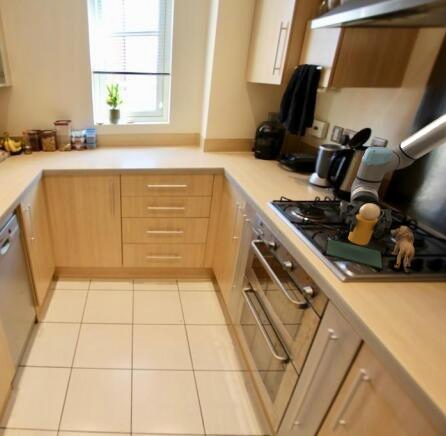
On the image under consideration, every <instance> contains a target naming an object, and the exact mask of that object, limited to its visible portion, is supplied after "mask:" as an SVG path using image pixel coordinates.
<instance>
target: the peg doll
mask: <svg viewBox="0 0 446 436" xmlns="http://www.w3.org/2000/svg"><path fill="white" fill-rule="evenodd" d="M359 213H360V214H357V216H356V225H355V228H354V231H353V232H350V231H349V234H348V237H347V239H348V241H349V242H351V243H353V244H355V245H358V246H359V245H360V246H365V245H366V246H367V245H368V244H369V243H370V241H371V238H372V235H373V233H374V229H375V226H376V224H377V221H378V219H377V217H378V216H379V214H380V215H381V213H380V209H379V207H378V206H377V205H375V204H371V203H369V204H365V205H363V206H362V207H361V208H360V210H359Z"/></svg>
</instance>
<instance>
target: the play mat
mask: <svg viewBox="0 0 446 436" xmlns="http://www.w3.org/2000/svg"><path fill="white" fill-rule="evenodd" d="M381 253H382V251H380V250H377V249H372V248H368V247H364V246H361V245H360V246H359V245H357V244H351V243H348V242H343V241H338V240H334V239H328V241H327V248H326V253H325V254H326V256H330V257H333V258H338V259H341V260H346V261H350V262H353V263H357V264H361V265H365V266H369V267H372V268H377V269H380V270H382V269H383V263H382V254H381Z"/></svg>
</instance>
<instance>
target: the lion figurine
mask: <svg viewBox="0 0 446 436" xmlns="http://www.w3.org/2000/svg"><path fill="white" fill-rule="evenodd" d="M390 233H391V236H392V237H395V238H394V239H395V246H394V249H393V251H392V252H391V254H392V255H394V256H397V257H396V264H395V265H393V266H394V268H395V269H400V266H401V263H402V262H401V260H402V259H403V263H402V264H403V270H404V272H405V273H409V270H408V268H407V267H409V268H410V267H411V261H412V260H413V258H414V256H415V247H414V243H415V238H414V234H413V232H412V230H411V229H410V228H409V227H408V226H405V225H400V227H398V228H396V229H391V230H390ZM403 257H404V258H403ZM397 264H398V265H397Z"/></svg>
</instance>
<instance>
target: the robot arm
mask: <svg viewBox="0 0 446 436" xmlns="http://www.w3.org/2000/svg"><path fill="white" fill-rule="evenodd" d="M445 143H446V113H444V114H443V115H441V116H440V117H438V118H436V119H435V120H433V121H432V122H430V123H429V124H427V125H426V126H424V127H423V128H421V129H419V130H418V131H416V132H415V133H413V134H411V135H410V136H408V137H407V138H406V139H404V140H403V141H401V142H400V143H398V144H397V145H395V146H394V147H392V148H388V147H385V146H369V147H367V148H366V149H365V150H364V151H365V152H364V154H363V155H362V157H361V161H360V164H359V167H358V169H357V174H356V176H355V179H354V181H353V183H352V184H351V187H350V202H348V201H346V200H345V199H344V200H341V201H340V204H339V206H338V207H339V209H340V212H339V219H340V220H345V224H346V225H349V233H350V232H353V231H354V228H355V225H356V216H357V214H360V213H359V210H360V208H361V207H362V206H363V205H365V204H369V203H371V204H375V205H377V206H378V207H379V209H380V214H379V216H378V217H377V219H378V221H377V224H376V226H375V229H374V231H373V233H374V235H373V236H374V238H377V239H378V238H379V236H380V234H381V232H384V230H385V229H387V230H389V229H390V228H391V225H392V223H393V218H392V214H391V213H392V209H391V208H386V209H382V207H381V206H380V201H379V189H380V186H381V184H382V182H383V179H384V177H385V174H386V173H390V172H393V171H396V170H401V169H402V170H403V169H405V168H407V167H409V166H410V165H412V164H413V163H414V161H416V160H417V159H420V158H421V157H423V156H425V155H426V154H428V153H430V152H432V151H433V150H435V149H436V148H438V147H441V146H442V145H444V144H445ZM348 208H349V209H350V211H349V212H347V211H348Z"/></svg>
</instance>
